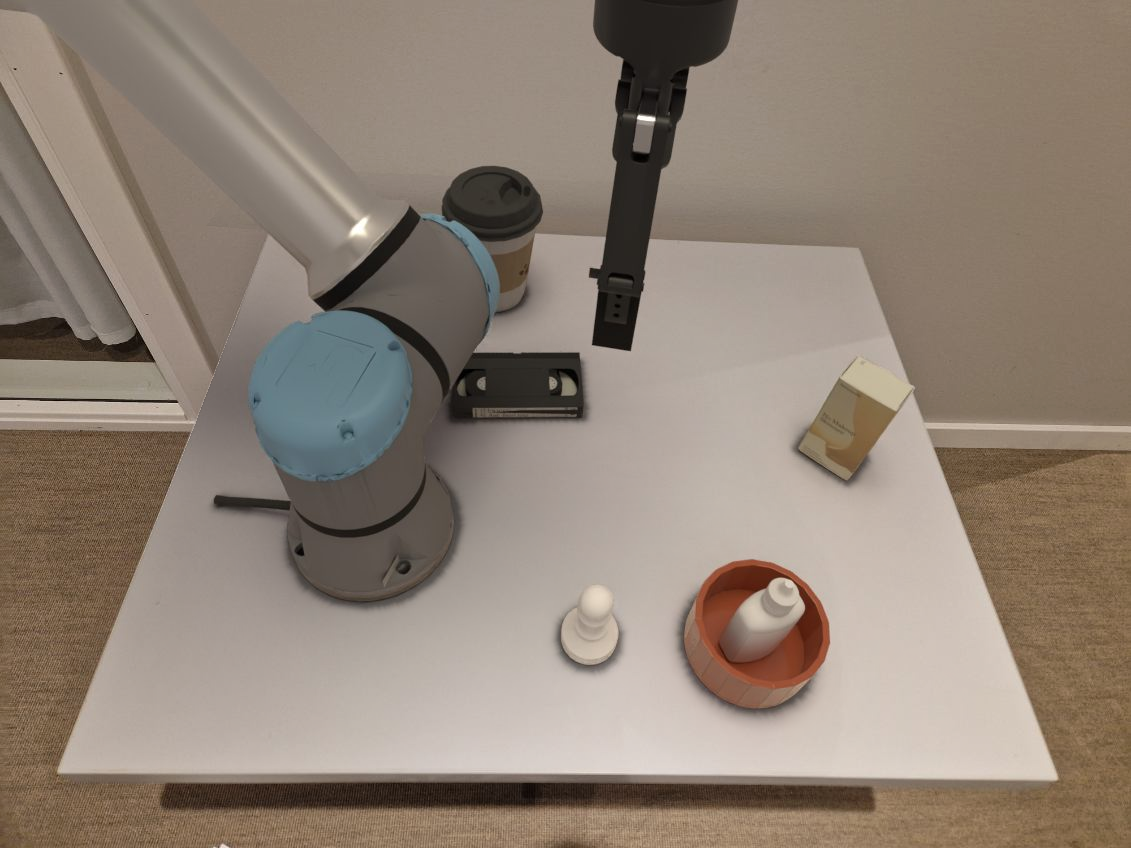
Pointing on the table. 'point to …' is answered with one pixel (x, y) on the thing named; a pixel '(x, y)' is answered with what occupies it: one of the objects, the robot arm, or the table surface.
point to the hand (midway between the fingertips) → (623, 279)
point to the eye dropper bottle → (762, 622)
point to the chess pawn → (590, 627)
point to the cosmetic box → (854, 416)
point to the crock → (772, 673)
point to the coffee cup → (498, 221)
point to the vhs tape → (519, 386)
